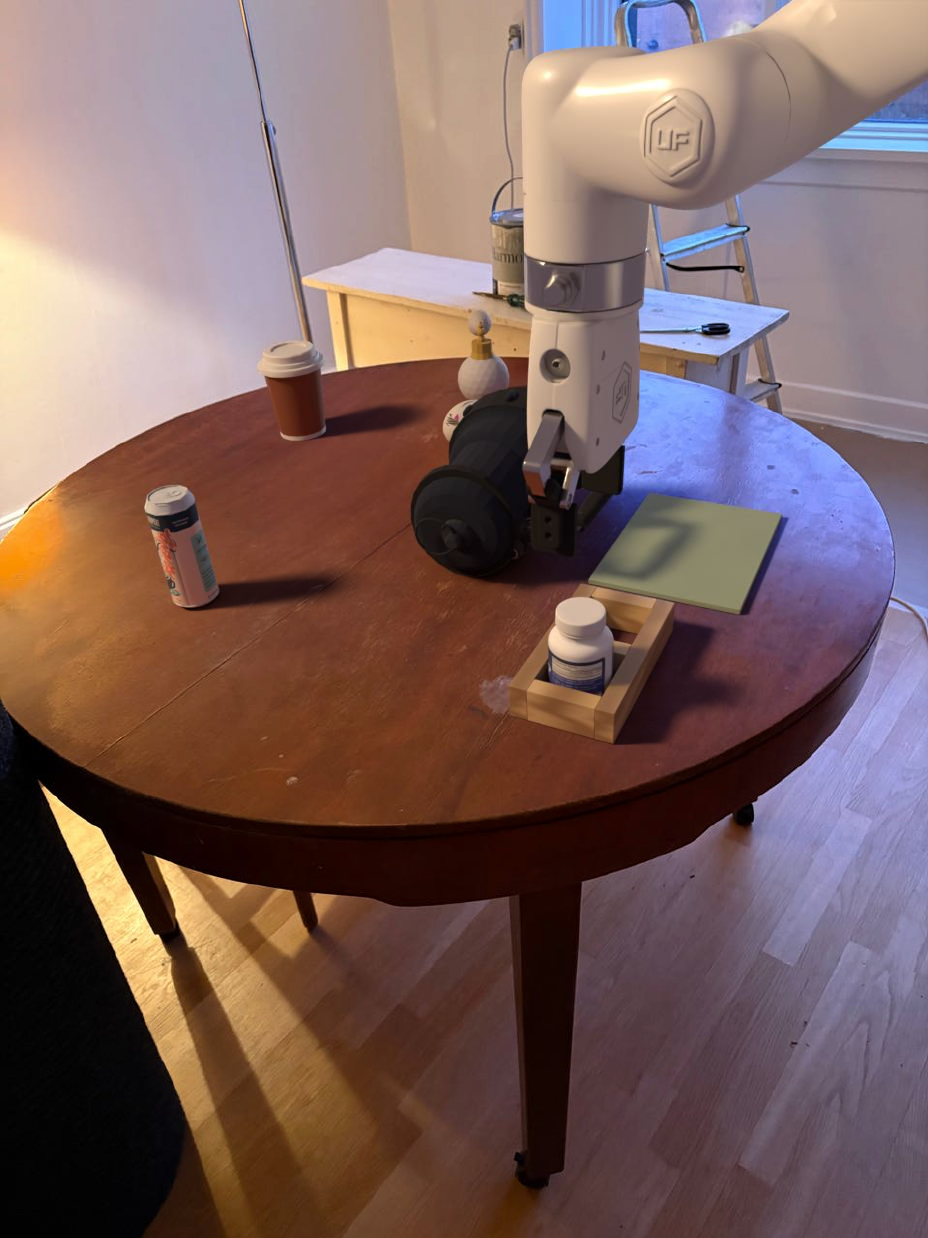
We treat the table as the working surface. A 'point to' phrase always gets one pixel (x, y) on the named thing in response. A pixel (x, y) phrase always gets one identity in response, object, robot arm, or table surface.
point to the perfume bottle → (481, 362)
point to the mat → (689, 552)
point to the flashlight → (485, 490)
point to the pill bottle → (581, 647)
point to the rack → (630, 670)
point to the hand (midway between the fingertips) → (579, 519)
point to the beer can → (181, 545)
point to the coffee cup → (295, 388)
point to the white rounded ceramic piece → (454, 418)
